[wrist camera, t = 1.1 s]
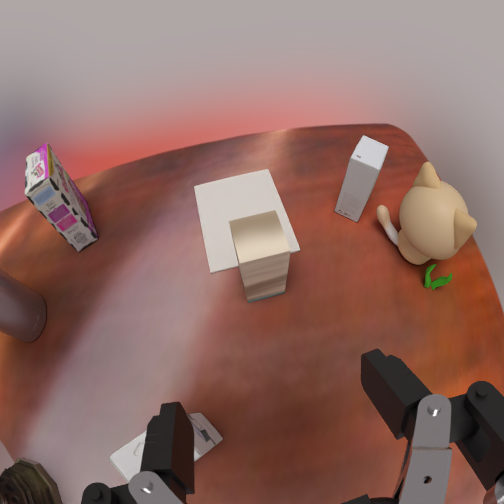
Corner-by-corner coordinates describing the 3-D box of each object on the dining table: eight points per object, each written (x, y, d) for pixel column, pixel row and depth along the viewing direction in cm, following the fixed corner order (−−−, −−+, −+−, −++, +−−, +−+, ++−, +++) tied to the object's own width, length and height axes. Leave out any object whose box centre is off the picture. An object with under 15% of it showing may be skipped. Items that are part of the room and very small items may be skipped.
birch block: (284, 293, 38) (290, 250, 27) (248, 302, 38) (239, 263, 27) (274, 260, 40) (275, 209, 30) (239, 269, 40) (228, 221, 29)
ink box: (175, 472, 27) (138, 498, 17) (150, 443, 29) (105, 457, 18) (224, 438, 29) (205, 457, 19) (198, 408, 31) (167, 414, 21)
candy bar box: (100, 238, 44) (49, 176, 30) (78, 253, 43) (23, 196, 28) (88, 199, 49) (47, 140, 34) (68, 213, 48) (24, 157, 33)
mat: (300, 251, 41) (300, 249, 40) (211, 273, 40) (210, 272, 40) (268, 170, 49) (268, 169, 48) (194, 187, 48) (194, 186, 47)
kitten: (456, 278, 37) (510, 228, 24) (415, 305, 36) (474, 258, 22) (409, 206, 44) (443, 143, 31) (366, 223, 42) (396, 155, 29)
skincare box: (357, 223, 43) (379, 171, 32) (333, 212, 44) (349, 157, 33) (369, 198, 45) (389, 146, 34) (346, 187, 46) (362, 133, 35)
